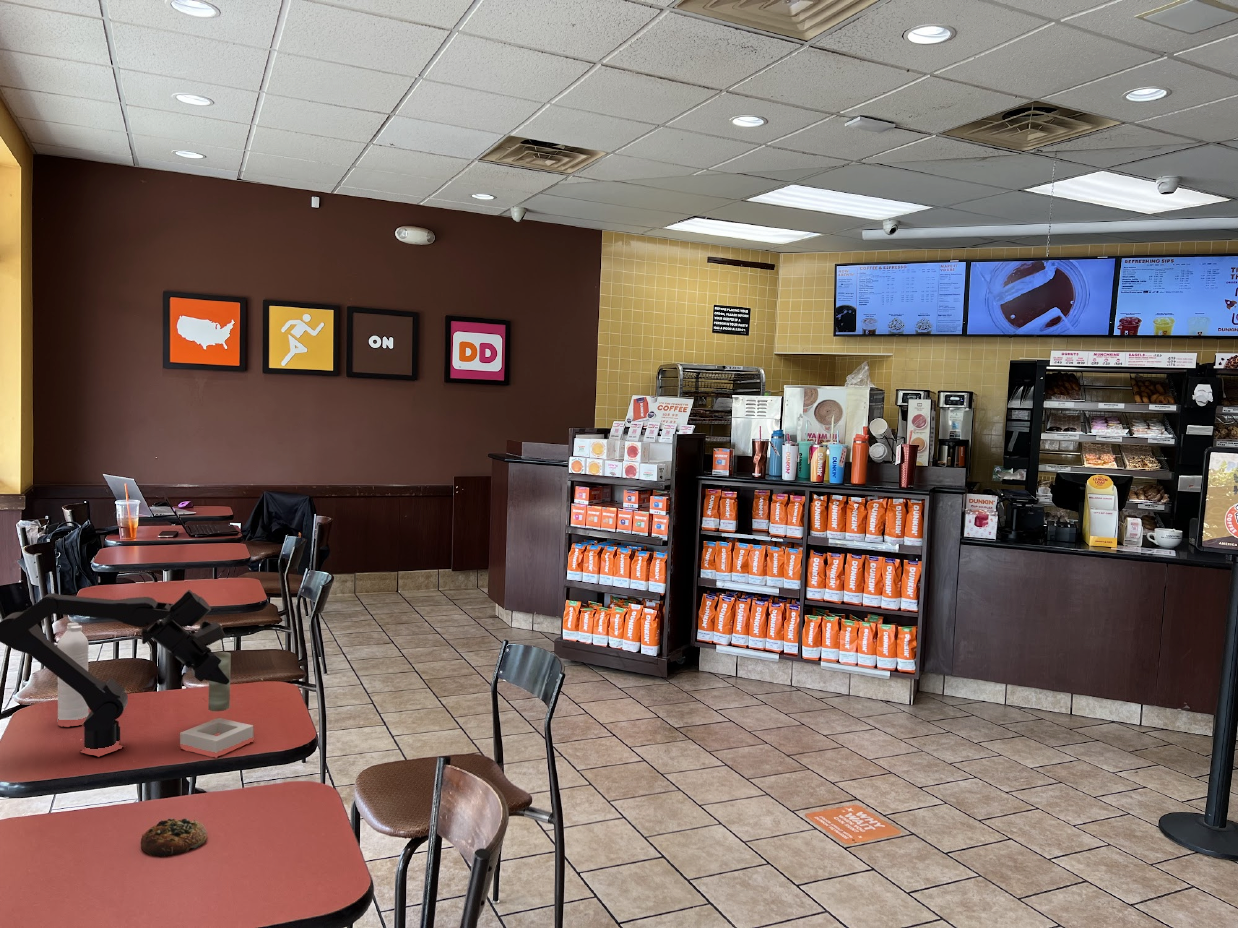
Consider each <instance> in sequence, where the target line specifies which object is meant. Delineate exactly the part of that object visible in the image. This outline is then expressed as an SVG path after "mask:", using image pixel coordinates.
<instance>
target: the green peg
mask: <svg viewBox="0 0 1238 928" xmlns="http://www.w3.org/2000/svg"><path fill="white" fill-rule="evenodd" d="M213 653H214V654H215V655H216V656H218V657H219V658H220V659H221V660H222V661H221V663H220V664H219V668H220V669H221V670H222V672H223V673H224V674H225V675H226V677H227V678H228V679H229V681H230V682H229V683H228V684H227V685H225V684H221V683H217V682H213V681H208V711H210V712H223V711H227V710H229V709H230V701H231V665H232V664H231V658H232V657H231V652H227V651H219V652H213Z"/></svg>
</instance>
